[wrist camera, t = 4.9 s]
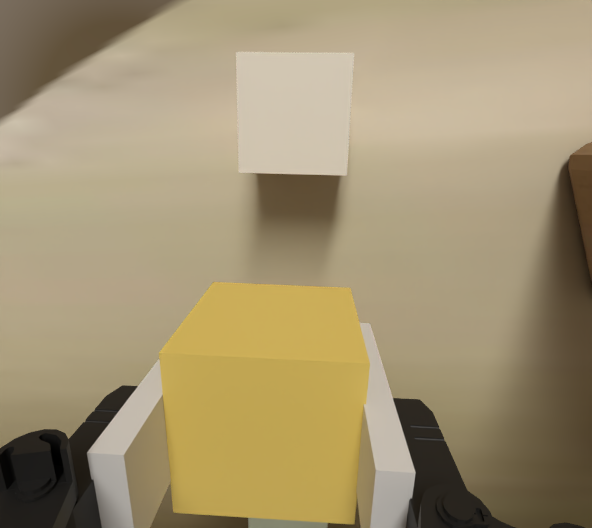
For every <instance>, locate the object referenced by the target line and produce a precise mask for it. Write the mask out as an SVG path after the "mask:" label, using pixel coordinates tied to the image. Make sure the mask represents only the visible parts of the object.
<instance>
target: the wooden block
mask: <svg viewBox="0 0 592 528" xmlns="http://www.w3.org/2000/svg"><path fill="white" fill-rule="evenodd" d="M568 169H569V174H570V179H571V184H572V189H573V194H574V199H575V203H576V208H577V213H578V218H579V223H580V228H581V233H582V238H583V243H584V248H585V253H586V258H587V263H588V268H589V273H590V278H591V283H592V142H591V143H588V144H586V145H585V146H583V147H582V148H580V149H579V150H577V151H576V152H575V153H573V154H572V155H570V159H569V164H568Z"/></svg>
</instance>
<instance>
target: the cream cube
mask: <svg viewBox="0 0 592 528" xmlns="http://www.w3.org/2000/svg"><path fill="white" fill-rule="evenodd" d="M353 66H354V53H305V52H236V75H237V119H238V164H239V173H268V174H306V175H344V176H347V165H348V148H349V132H350V115H351V99H352V82H353Z"/></svg>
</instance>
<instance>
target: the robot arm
mask: <svg viewBox="0 0 592 528" xmlns="http://www.w3.org/2000/svg"><path fill="white" fill-rule="evenodd" d="M360 327H361V331H362V335H363V338H364V342H365V346H366V350H367V354H368V357H369V361H370V370H369V380H368V390H367V400H366V404H364V408H363V419H362V431H361V443H360V454H359V466H358V478H357V489H356V492H357V501H358V510H359V518H360V527H361V528H515V527H512V526H510V525H507V524H505V523H503V522H501V521H499V520H497V519H496V518H494V517H492V515H491V513H490V511H489V510H488V509H487V507H486V506H485V505H484V504H483V503H482V501H481V500H480V499H478V498H477V497H476V496H474V495H473V494H471V493H470V492H469V491H467V489H466V487H465V484H464V482H463V480H462V478H461V475H460V473H459V471H458V469H457V466H456V464H455V462H454V460H453V457H452V455H451V453H450V451H449V448H448V446H447V444H446V442H444V437H443V435H442V433H441V430H440V429H439V426H438V423H437V421H436V419H435V417H434V414H433V412H432V411H431V410H430V409H429V408H428V407H427V406H426V405H425V404H424V403H423V402H422V401H421V400H418V399H398V398H393V397H392V394H391V391H390V388H389V384H388V381H387V378H386V374H385V371H384V368H383V365H382V361H381V358H380V355H379V352H378V348H377V345H376V342H375V338H374V335H373V332H372V329H371V325H370V323H360ZM170 482H171V477H170V467H169V457H168V447H167V437H166V426H165V415H164V404H163V393H162V382H161V371H160V360H158V361H157V362H156V364H155V365H154V366H153V367H152V369H151V370H150V371H149V373H148V374H147V375H146V377H145V378H144V379H143V380H142V382H141V383H140V384H139V386H121V387H119V388H118V389H116V390H115V391H113V392H112V393H110V394H109V395H107V396H106V397H105V398H104V399H103V400H102V402H101V403H100V404H99V405H98V406H97V407H96V408H95V411H94V412H92V413H91V414H90V415H89V416H88V418H87V419H86V421H85V423H84V422H83V423H82V425H81V426H80V427H79V428H78V429H77V430H76V431H75V433H74V434H73V435H72V436H71V437H70V438H69V439H68V438H67V436H66V434H65V433H64V432H61V431H59V430H51V429H44V430H39V431H35V432H30V433H28V434H25V435H23V436H20V437H18V438H16V439H14V440H12V441H11V442H9V443H8V444H6V445H4V446H3V447H1V448H0V528H150V526H151V524H152V522H153V520H154V517H155V515H156V513H157V511H158V508H159V506H160V504H161V502H162V499H163V497H164V495H165V493H166V490H167V488H168V486H169V484H170ZM550 528H584V527H582V526H578V525H574V524H570V523H559V524H553V525H552V526H551V527H550Z"/></svg>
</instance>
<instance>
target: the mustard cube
mask: <svg viewBox="0 0 592 528" xmlns="http://www.w3.org/2000/svg"><path fill="white" fill-rule="evenodd" d="M159 360H160V371H161V382H162V393H163V404H164V415H165V426H166V437H167V447H168V457H169V467H170V477H171V492H172V503H173V513H186V514H201V515H216V516H232V517H247V518H262V519H277V520H293V521H308V522H323V523H338V524H354V523H355V513H356V502H357V492H356V489H357V478H358V466H359V454H360V443H361V431H362V419H363V408H364V404H366V400H367V390H368V380H369V370H370V361H369V357H368V354H367V350H366V346H365V342H364V338H363V335H362V331H361V327H360V323H359V319H358V316H357V312H356V308H355V304H354V300H353V297H352V293H351V289H350V288H340V287H316V286H293V285H269V284H245V283H222V282H213V283H212V285H211V286H210V287H209V288H208V290H207V291H206V292H205V294H204V295H203V296H202V298H201V299H200V300H199V301H198V303H197V304H196V305H195V307H194V308H193V309H192V311H191V312H190V313H189V315H188V316H187V317H186V318H185V320H184V321H183V322H182V324H181V325H180V326H179V328H178V329H177V330H176V331H175V333H174V334H173V335H172V337H171V338H170V339H169V341H168V342H167V343H166V344H165V346H164V347H163V348H162V350H161V351H160V352H159Z"/></svg>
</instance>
